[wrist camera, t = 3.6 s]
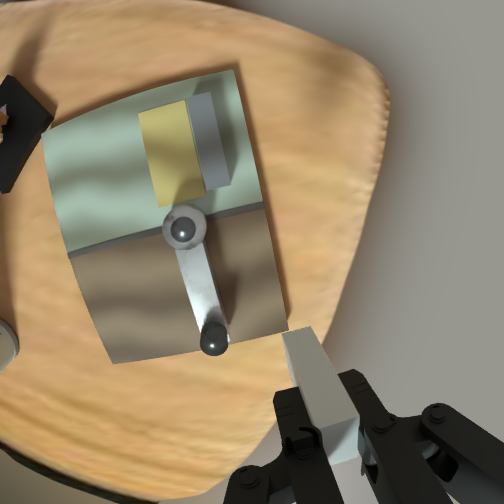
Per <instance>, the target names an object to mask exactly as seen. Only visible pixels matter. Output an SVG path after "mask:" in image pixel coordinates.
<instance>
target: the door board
mask: <svg viewBox="0 0 504 504" xmlns="http://www.w3.org/2000/svg"><path fill="white" fill-rule="evenodd" d="M41 137H42V144H43V151H44V157H45V163H46V169H47V174H48V179H49V184H50V189H51V193H52V198H53V202H54V206H55V210H56V214H57V218H58V222H59V226H60V229H61V233H62V236H63V240H64V243H65V246H66V250H67V254H68V257H69V259H70V262H71V265H72V268H73V271H74V274H75V277H76V279H77V282H78V285H79V288H80V290H81V293H82V296H83V298H84V301H85V303H86V306H87V308H88V311H89V313H90V315H91V318H92V320H93V322H94V325H95V327H96V329H97V332H98V334H99V336H100V338H101V340H102V343H103V345H104V347H105V349H106V351H107V353H108V355H109V357H110V359H111V361H112V363H113V364H118V363H126V362H133V361H140V360H147V359H153V358H160V357H166V356H172V355H178V354H183V353H189V352H194V351H199V350H201V348H200V336H201V333H200V330H199V327H198V324H197V321H196V318H195V315H194V312H193V308H192V305H191V302H190V299H189V296H188V293H187V289H186V286H185V283H184V280H183V276H182V273H181V270H180V266H179V263H178V259H177V256H176V252H175V248H174V247H172V246H171V245H170V244H169V243H168V242H167V241H166V240H165V238H164V235H163V231H162V225H163V221H164V219H165V217H166V215H167V214H168V213H169V212H170V211H171V210H173V209H174V208H175V207H177V206H179V205H181V204H193V205H196V206H198V207H199V208H200V209H201V210H202V211H203V212H204V213H205V215H206V218H207V230H206V233H205V236H204V237H205V241H206V245H207V249H208V253H209V257H210V260H211V264H212V268H213V272H214V275H215V279H216V283H217V286H218V290H219V294H220V297H221V301H222V304H223V308H224V311H225V315H226V318H227V322H228V325H229V330H230V341H228V345H229V344H234V343H238V342H243V341H247V340H251V339H256V338H260V337H264V336H268V335H272V334H277V333H281V332H284V331H288V330H289V328H288V323H287V317H286V312H285V307H284V302H283V297H282V292H281V286H280V281H279V276H278V271H277V266H276V261H275V256H274V251H273V246H272V242H271V237H270V232H269V227H268V222H267V217H266V213H265V207H264V203H263V198H262V194H261V189H260V184H259V180H258V175H257V171H256V166H255V161H254V157H253V152H252V148H251V143H250V139H249V135H248V130H247V126H246V121H245V117H244V113H243V108H242V104H241V100H240V95H239V91H238V87H237V83H236V78H235V74H234V70H227V71H222V72H217V73H212V74H208V75H203V76H199V77H194V78H190V79H186V80H182V81H178V82H175V83H171V84H167V85H164V86H160V87H157V88H154V89H150V90H147V91H144V92H141V93H138V94H135V95H132V96H129V97H126V98H123V99H120V100H118V101H115V102H112V103H110V104H107V105H104V106H102V107H99V108H97V109H94V110H92V111H89V112H87V113H85V114H82V115H80V116H78V117H75V118H73V119H71V120H69V121H67V122H65V123H62V124H60V125H58V126H56V127H54V128H52V129H50V130H48V131H46V132H44V133H42V134H41Z"/></svg>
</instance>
